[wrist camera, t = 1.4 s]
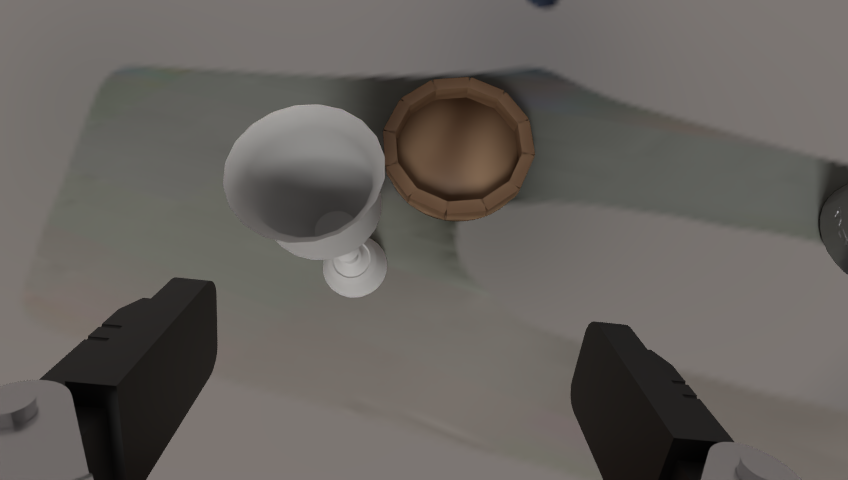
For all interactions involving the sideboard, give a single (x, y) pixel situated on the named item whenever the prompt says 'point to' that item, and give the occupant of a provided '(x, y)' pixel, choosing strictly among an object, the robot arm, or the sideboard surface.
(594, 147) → the sideboard surface
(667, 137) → the sideboard surface
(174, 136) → the sideboard surface
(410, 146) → the tan segmented-rim dish
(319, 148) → the chalice
